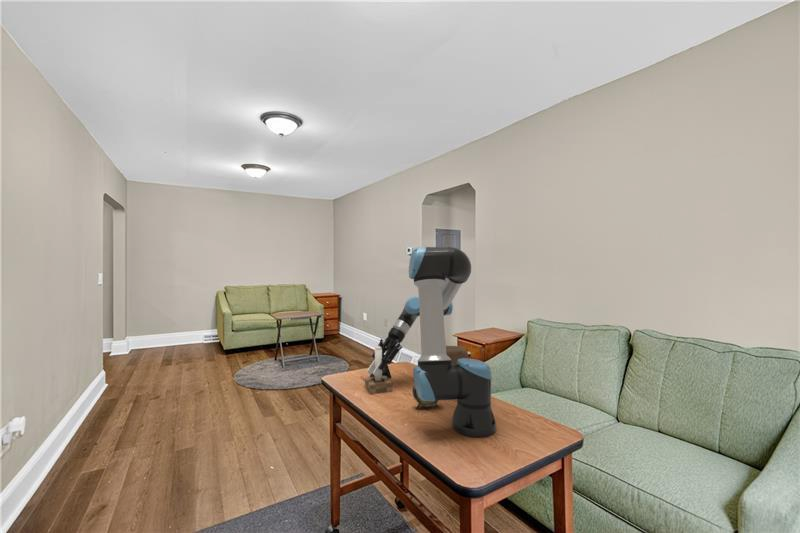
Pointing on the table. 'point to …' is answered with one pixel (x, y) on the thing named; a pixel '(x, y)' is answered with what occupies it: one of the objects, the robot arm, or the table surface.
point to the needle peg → (377, 359)
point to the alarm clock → (421, 402)
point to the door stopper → (384, 371)
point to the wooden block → (456, 353)
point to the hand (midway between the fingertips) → (371, 373)
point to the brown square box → (378, 385)
